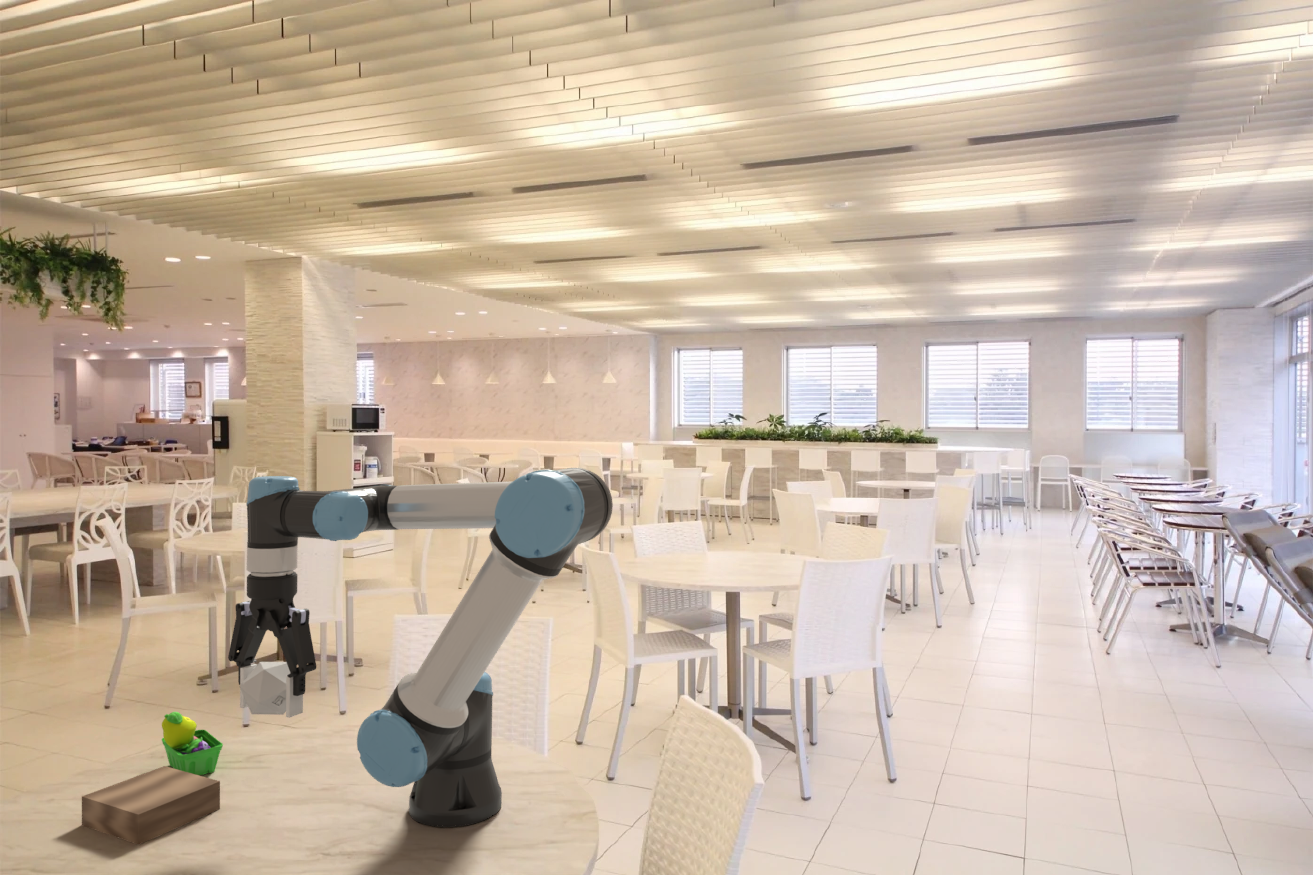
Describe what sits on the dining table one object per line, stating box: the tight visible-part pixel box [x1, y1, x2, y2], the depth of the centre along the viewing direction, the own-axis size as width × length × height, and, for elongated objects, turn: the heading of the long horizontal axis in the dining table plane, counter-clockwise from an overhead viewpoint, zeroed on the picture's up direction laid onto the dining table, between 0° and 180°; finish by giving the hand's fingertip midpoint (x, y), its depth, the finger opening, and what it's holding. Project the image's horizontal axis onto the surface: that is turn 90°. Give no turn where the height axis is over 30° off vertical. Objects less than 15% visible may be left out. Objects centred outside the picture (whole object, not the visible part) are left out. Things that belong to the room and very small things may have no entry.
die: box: [239, 661, 290, 716], centre depth 143 cm, size 8×9×10 cm
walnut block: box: [81, 765, 221, 845], centre depth 143 cm, size 14×14×5 cm
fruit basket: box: [161, 711, 224, 776], centre depth 163 cm, size 11×9×11 cm
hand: (271, 710), depth 143 cm, fingers closed on die, 9 cm apart
